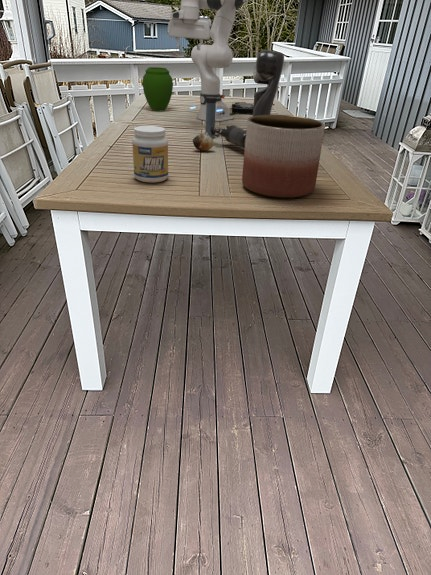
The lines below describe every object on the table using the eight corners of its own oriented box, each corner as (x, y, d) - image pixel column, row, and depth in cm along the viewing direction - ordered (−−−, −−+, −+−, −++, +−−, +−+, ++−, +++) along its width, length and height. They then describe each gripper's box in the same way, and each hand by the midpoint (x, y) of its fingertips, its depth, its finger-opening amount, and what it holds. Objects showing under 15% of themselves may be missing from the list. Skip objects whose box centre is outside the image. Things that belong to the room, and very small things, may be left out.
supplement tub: (139, 184, 140) (136, 133, 131) (130, 174, 149) (127, 125, 140) (173, 181, 144) (172, 131, 135) (162, 172, 153) (161, 124, 144)
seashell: (212, 149, 186) (213, 131, 181) (214, 152, 181) (215, 133, 177) (191, 149, 184) (192, 130, 180) (193, 152, 180) (193, 133, 175)
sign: (232, 108, 269) (231, 101, 294) (232, 113, 270) (230, 106, 296) (261, 109, 269) (257, 102, 295) (260, 114, 271) (257, 107, 296)
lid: (218, 101, 200) (218, 97, 199) (213, 103, 195) (214, 98, 194) (208, 100, 201) (208, 96, 200) (203, 102, 197) (203, 97, 196)
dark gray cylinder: (215, 137, 208) (217, 98, 199) (212, 138, 205) (213, 99, 195) (207, 136, 210) (208, 97, 200) (203, 137, 206) (204, 98, 196)
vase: (143, 107, 275) (142, 66, 262) (173, 108, 277) (172, 67, 264) (142, 112, 259) (140, 68, 246) (173, 113, 261) (173, 70, 248)
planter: (325, 200, 135) (339, 130, 123) (251, 201, 131) (257, 128, 119) (299, 176, 156) (309, 114, 144) (234, 177, 152) (239, 113, 140)
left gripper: (212, 17, 194) (210, 50, 201) (170, 14, 195) (170, 47, 202) (210, 16, 188) (209, 50, 196) (167, 13, 190) (167, 47, 197)
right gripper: (250, 126, 186) (232, 119, 198) (223, 128, 180) (206, 121, 192) (248, 143, 190) (231, 135, 202) (222, 145, 184) (205, 137, 196)
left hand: (188, 49), depth 199 cm, fingers open, 8 cm apart
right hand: (219, 128), depth 197 cm, fingers open, 8 cm apart
